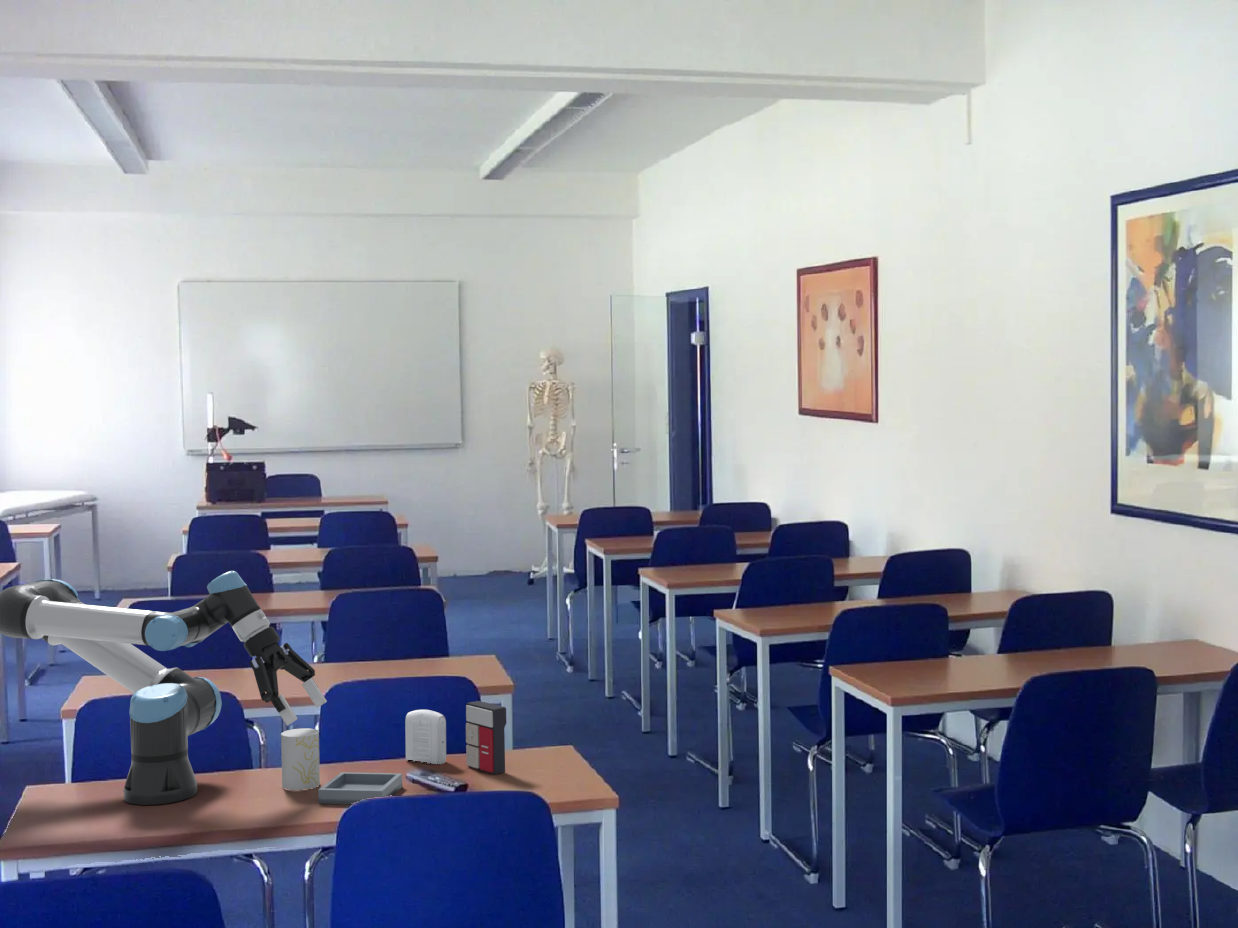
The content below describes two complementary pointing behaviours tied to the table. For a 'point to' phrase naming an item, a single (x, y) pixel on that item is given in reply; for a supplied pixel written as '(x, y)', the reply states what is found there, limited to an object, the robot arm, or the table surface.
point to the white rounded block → (425, 736)
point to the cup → (300, 759)
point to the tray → (359, 787)
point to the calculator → (485, 737)
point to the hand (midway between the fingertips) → (307, 713)
